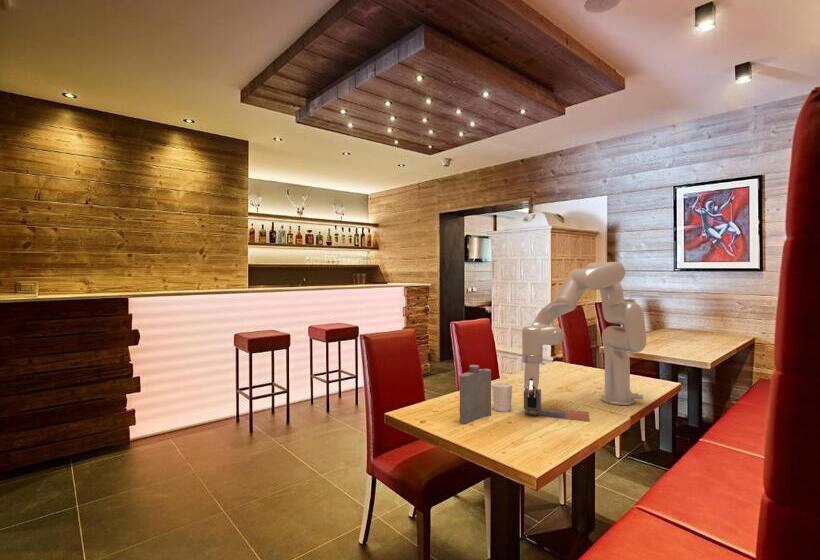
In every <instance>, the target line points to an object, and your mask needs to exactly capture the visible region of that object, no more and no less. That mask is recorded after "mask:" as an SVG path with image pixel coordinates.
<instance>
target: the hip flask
mask: <svg viewBox="0 0 820 560" xmlns="http://www.w3.org/2000/svg"><path fill="white" fill-rule="evenodd" d="M468 368H469V371H467V372H464V373H461V374H459V423H460V424H462V425H467V424H470V423H472V422H474V421H477V420H479V419H482V418H487V417H490V416H492V370H491V368H490V369H489V368H480V365H478V364H470V365H469V367H468Z"/></svg>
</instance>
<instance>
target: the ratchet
mask: <svg viewBox="0 0 820 560" xmlns="http://www.w3.org/2000/svg"><path fill="white" fill-rule="evenodd" d="M524 411H525V413H524V414H525V415H526V416H529V417H544V418H554V419H556V418H557V419H566V420H570V421H571V420H572V421H582V422H590V411H584V410H583V411H582V410H574V409H572V410H571V409H565V410H561V409H560V410H559V409H551V408H550V409H549V408H543V407H541V410H540V411H538V410H528V409H524Z"/></svg>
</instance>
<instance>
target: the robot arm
mask: <svg viewBox="0 0 820 560" xmlns="http://www.w3.org/2000/svg"><path fill="white" fill-rule="evenodd" d="M625 276H626V269H625V267H624V265H623V264H622V263H620V262H618V261H602V262H601V261H599V262H597V261H596V262H591V263H588V264H587V265H585V266H584V268H575V269H572V270H570V271H569V273H568V274H567V275H566V277H565V279H564V281H563V283H562V284H561V287H560V289H559V290H558V292H557V294H556V296H555V298H554V299H553V300H552V301H550V302H549V303H548V304H547V305H545V306H544V307H543V308H542V309H541V310H540V311H539V312H538V313H537V315H536V316H535V318H534V320H533V322H532V324H531V325H526V326H523V328H522V330H521V333H522V334H521V337H522V338H521V343H522V344H521V346H522V348H521V349H522V351H521V352H522V358H521V359H522V363H524V377H523V378H524V381H523V382H524V384H523V385H524V387H523V388H524V390H525V389H526V388H528V397H527V398H528V407H530V408H536V390H537V389H539V385H540V364H541V365H542V364H543V363H544V362H543V356H544V355H543V345H544V346H545V345H547V346H557V345H560V344H561V343H562V342H563V341H564V338H565V332H564V331H563V330H562V329H561V328H560V327H559V326H556V325H551V324H552V323H553V322H554V320H555V319H557V318H558V317H560V316H564V315H565V314H567V313H570V312H572V311H574V310H575V309H576V308H577V306H578V304H579V302H580V300H581V298H582V296H583V294H584V293H585V291H597V290H598V291H599V293H600V298H601V309H602V315H603V318H604V320H605V321H606V322H607V323H611V324H614V325H610V326H607V327H605V329H603V331H602V333H601V341H602V346H603V351H604V394H602V395H601V396H600V400H601V401H602V402H603V403H604V402H605V403H607V404H610V405H614V406H615V405H616V406H617V405H618V406H631V405H633V404H634V403H635V399H636V400H643V399H644V396H643V394H639V393H633V392H632V391H631V385H630V384H631V371H630V370H631V368H630V367H631V359H630V356H629V354H628V352H630V353H641V352H642V351H643V350H644V349H645V348H646V345H647V331H646V330H647V329H646V320H645V314H644V310H643V309H642V307H641V306H640V304H637V302H633V301H626V300H625V296H624V292H623V291H624V290H623V287H622V285H621V282H622V281H623V280H624V278H625ZM619 325H621V326H619ZM622 325H623V326H622ZM533 391H534V392H533Z"/></svg>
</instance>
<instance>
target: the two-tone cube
mask: <svg viewBox="0 0 820 560" xmlns="http://www.w3.org/2000/svg"><path fill="white" fill-rule="evenodd" d="M533 392H534V391H533ZM527 397H528V388H526V389H525V388H524V391H523V410H525V409H528V410H538V411H540V410H541V408H542V389H541V388H538V389H537V390H536V408H530V407H528V398H527Z"/></svg>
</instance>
